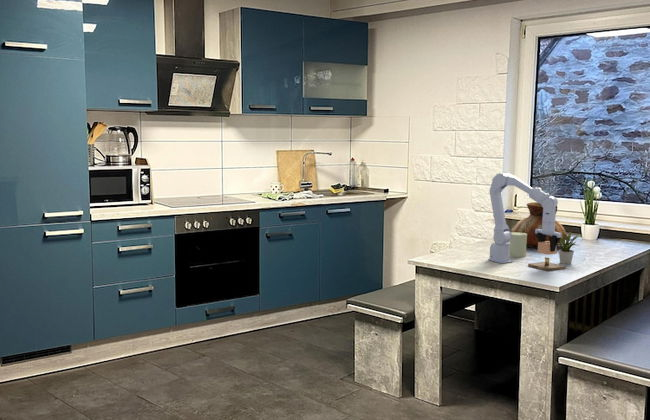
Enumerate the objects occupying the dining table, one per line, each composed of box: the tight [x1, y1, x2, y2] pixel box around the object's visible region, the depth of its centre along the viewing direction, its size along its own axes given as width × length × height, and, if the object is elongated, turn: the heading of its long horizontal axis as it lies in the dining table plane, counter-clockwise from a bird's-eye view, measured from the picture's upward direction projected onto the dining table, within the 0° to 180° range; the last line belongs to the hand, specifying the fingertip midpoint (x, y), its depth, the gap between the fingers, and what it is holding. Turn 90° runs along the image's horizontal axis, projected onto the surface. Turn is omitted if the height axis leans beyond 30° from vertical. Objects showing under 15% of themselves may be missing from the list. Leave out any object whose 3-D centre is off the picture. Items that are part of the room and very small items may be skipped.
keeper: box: [527, 257, 567, 272], centre depth 315 cm, size 12×12×5 cm
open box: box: [537, 241, 558, 256], centre depth 314 cm, size 6×6×5 cm
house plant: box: [557, 230, 582, 265], centre depth 324 cm, size 14×14×16 cm
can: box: [509, 231, 527, 258], centre depth 343 cm, size 9×9×12 cm
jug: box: [510, 201, 568, 249], centre depth 370 cm, size 30×30×25 cm
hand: (547, 250), depth 314 cm, fingers closed on open box, 6 cm apart
